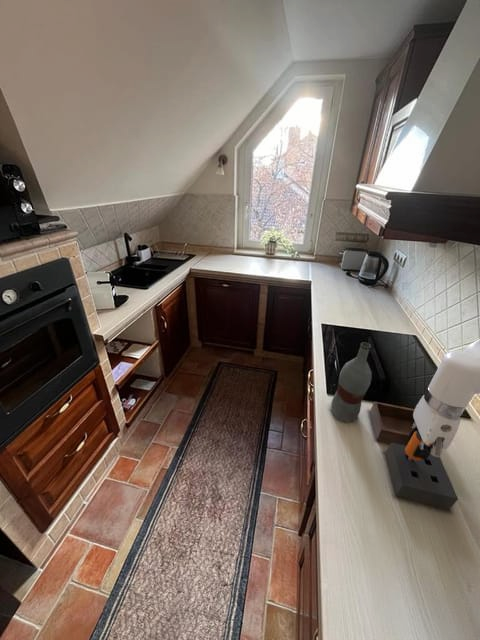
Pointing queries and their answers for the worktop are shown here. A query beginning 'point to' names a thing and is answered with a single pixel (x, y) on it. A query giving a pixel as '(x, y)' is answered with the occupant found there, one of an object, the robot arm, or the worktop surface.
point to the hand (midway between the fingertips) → (416, 448)
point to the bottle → (352, 386)
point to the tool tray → (391, 423)
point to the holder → (420, 478)
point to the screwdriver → (413, 446)
